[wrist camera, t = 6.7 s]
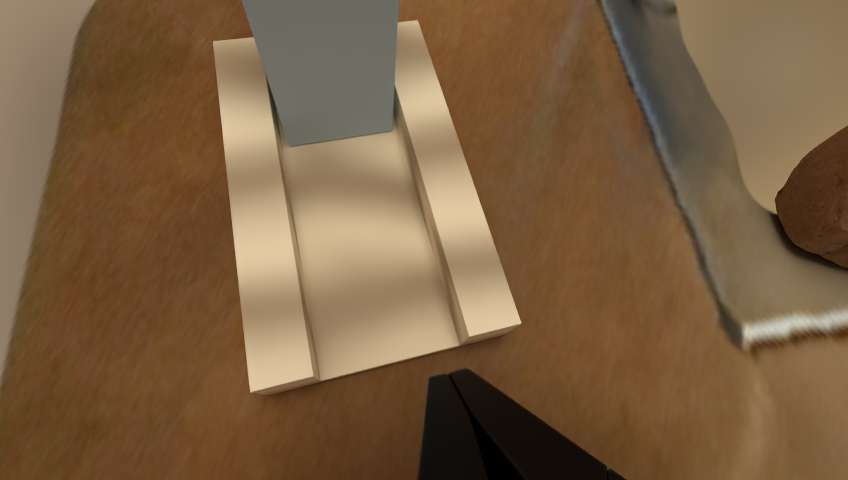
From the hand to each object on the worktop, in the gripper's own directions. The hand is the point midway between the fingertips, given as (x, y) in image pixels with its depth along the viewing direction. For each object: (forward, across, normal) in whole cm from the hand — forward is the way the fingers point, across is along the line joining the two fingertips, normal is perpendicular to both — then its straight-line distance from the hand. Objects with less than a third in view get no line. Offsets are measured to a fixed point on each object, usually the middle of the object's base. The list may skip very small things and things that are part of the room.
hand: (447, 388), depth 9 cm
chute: (+17, +1, +1) cm, 17 cm away
